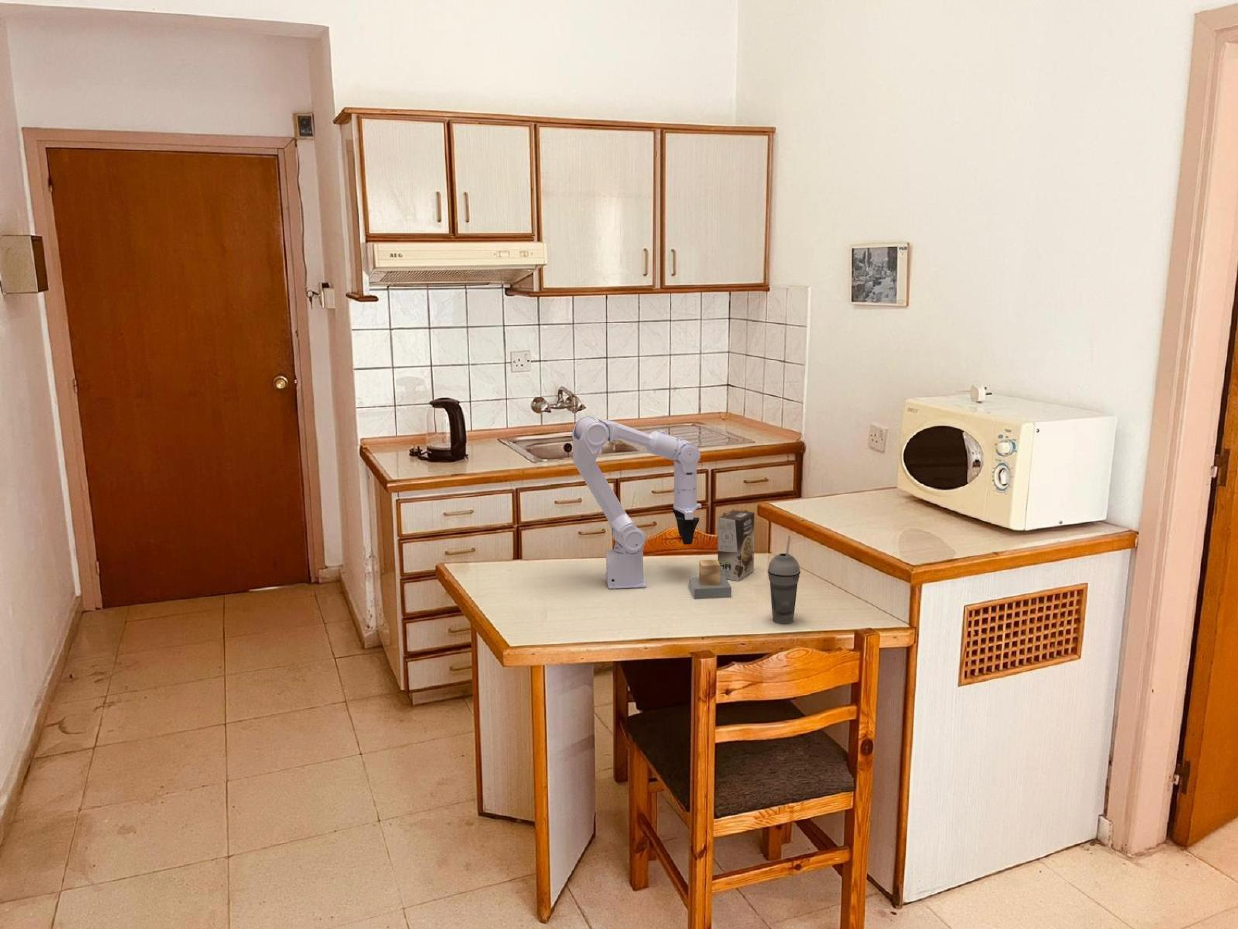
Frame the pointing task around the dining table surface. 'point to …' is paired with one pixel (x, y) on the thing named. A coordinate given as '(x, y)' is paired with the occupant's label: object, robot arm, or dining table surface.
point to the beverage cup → (783, 586)
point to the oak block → (709, 572)
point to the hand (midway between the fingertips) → (685, 539)
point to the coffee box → (736, 544)
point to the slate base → (709, 589)
